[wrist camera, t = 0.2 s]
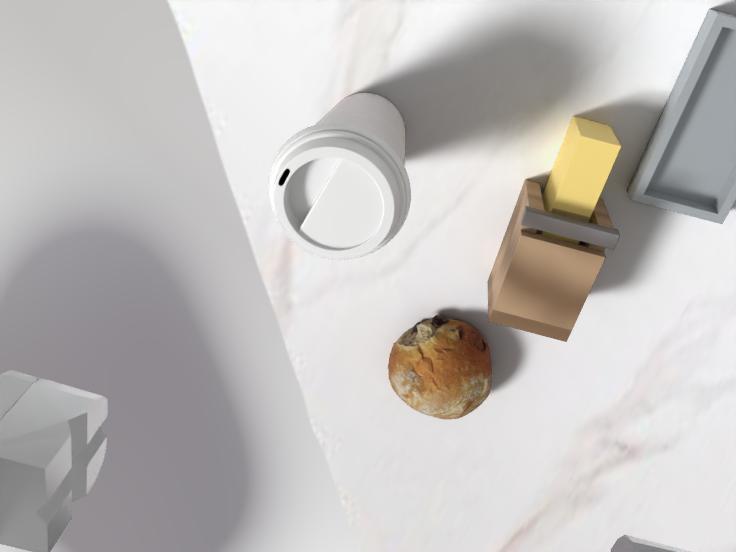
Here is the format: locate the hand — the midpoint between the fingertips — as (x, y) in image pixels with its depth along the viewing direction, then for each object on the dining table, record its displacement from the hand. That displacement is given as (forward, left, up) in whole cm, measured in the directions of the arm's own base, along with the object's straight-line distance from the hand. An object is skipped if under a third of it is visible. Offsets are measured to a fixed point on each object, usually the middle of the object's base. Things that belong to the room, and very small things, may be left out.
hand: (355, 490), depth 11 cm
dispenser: (+16, +13, -47) cm, 52 cm away
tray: (+3, +21, -47) cm, 52 cm away
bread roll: (+31, +8, -48) cm, 57 cm away
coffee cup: (+11, -4, -48) cm, 49 cm away
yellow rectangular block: (+11, +13, -48) cm, 50 cm away
